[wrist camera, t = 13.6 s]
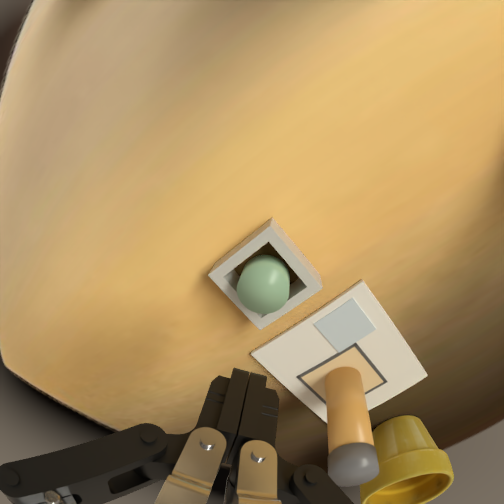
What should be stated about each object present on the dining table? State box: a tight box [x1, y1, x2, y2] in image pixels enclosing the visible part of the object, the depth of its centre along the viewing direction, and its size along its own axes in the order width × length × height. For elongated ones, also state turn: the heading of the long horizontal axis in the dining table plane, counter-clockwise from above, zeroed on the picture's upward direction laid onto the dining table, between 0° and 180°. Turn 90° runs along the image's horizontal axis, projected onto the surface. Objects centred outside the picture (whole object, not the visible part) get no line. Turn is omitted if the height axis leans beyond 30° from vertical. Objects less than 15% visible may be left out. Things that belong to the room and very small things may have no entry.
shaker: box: [325, 367, 379, 487], centre depth 23 cm, size 4×4×11 cm
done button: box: [237, 255, 290, 314], centre depth 23 cm, size 4×4×2 cm
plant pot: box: [360, 415, 454, 504], centre depth 26 cm, size 10×10×10 cm
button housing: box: [208, 217, 322, 330], centre depth 24 cm, size 6×6×2 cm
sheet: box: [251, 280, 428, 423], centre depth 27 cm, size 14×12×1 cm
